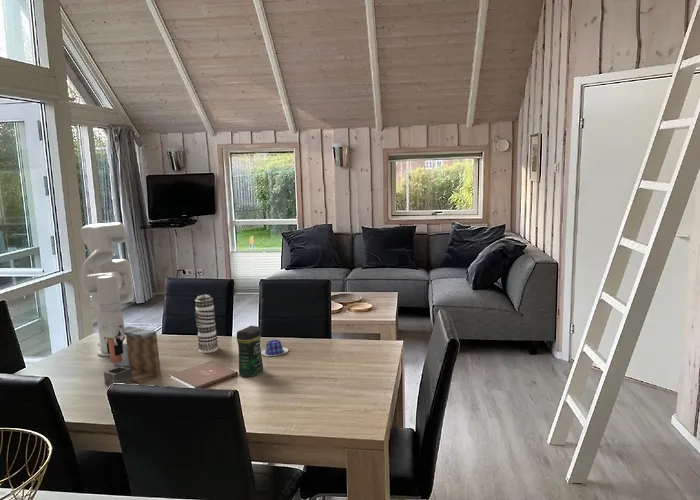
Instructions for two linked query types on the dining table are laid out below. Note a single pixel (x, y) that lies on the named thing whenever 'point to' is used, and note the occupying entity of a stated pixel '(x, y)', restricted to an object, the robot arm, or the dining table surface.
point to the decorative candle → (206, 324)
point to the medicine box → (124, 357)
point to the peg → (113, 351)
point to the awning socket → (137, 358)
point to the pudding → (274, 348)
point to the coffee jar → (249, 351)
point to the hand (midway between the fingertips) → (115, 353)
